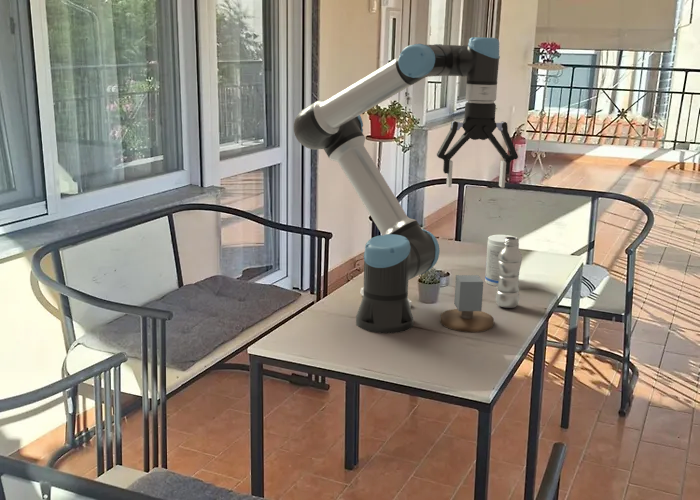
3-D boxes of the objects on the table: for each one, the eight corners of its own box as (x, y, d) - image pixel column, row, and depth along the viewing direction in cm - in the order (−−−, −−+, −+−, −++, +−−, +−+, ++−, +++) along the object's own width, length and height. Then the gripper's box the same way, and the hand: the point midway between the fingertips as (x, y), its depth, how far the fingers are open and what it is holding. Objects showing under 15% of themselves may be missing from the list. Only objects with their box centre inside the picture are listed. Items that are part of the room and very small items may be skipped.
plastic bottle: (518, 311, 220) (524, 241, 215) (494, 309, 221) (499, 240, 216) (518, 304, 226) (524, 236, 221) (494, 302, 227) (499, 234, 222)
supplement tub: (489, 277, 251) (493, 232, 248) (519, 282, 247) (523, 236, 244) (480, 285, 243) (483, 239, 239) (510, 290, 239) (514, 243, 235)
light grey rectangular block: (458, 311, 206) (460, 281, 204) (454, 303, 212) (455, 275, 210) (481, 311, 206) (483, 281, 204) (476, 303, 212) (478, 275, 210)
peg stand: (445, 332, 203) (447, 289, 200) (436, 313, 216) (438, 273, 213) (499, 331, 204) (502, 289, 201) (486, 313, 217) (489, 273, 214)
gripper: (433, 102, 191) (429, 188, 196) (534, 103, 193) (527, 189, 198) (428, 99, 198) (424, 183, 203) (525, 101, 200) (519, 184, 205)
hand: (475, 186), depth 201 cm, fingers open, 13 cm apart
